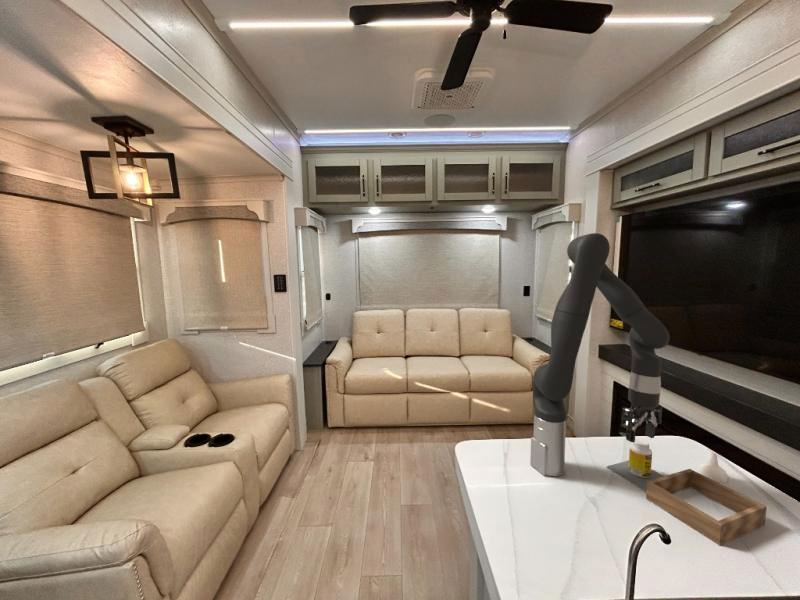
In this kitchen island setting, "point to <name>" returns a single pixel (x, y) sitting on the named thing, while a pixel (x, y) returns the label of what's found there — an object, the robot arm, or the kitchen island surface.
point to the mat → (625, 473)
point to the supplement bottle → (640, 458)
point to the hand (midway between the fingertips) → (640, 439)
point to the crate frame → (718, 531)
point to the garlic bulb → (713, 470)
